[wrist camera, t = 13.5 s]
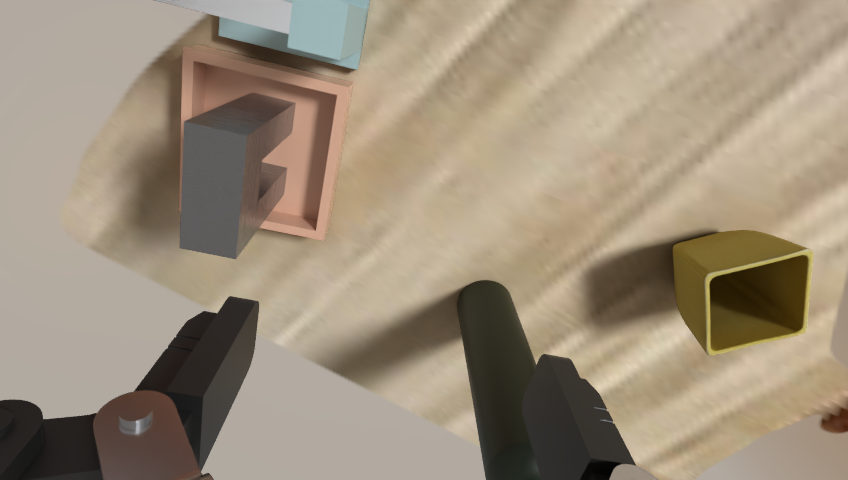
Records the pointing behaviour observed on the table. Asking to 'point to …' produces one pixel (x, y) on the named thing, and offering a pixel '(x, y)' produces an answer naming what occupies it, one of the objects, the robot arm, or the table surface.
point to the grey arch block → (232, 172)
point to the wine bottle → (498, 379)
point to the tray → (301, 151)
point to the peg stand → (293, 25)
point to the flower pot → (742, 288)
